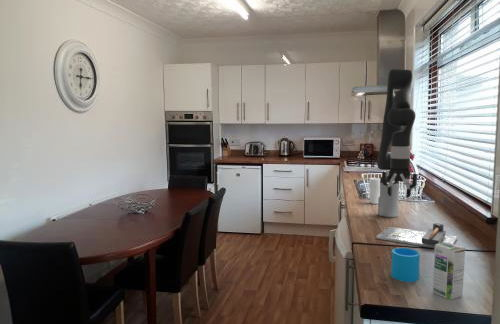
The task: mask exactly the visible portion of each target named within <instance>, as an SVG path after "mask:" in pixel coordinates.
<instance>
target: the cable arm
mask: <svg viewBox="0 0 500 324" xmlns="http://www.w3.org/2000/svg"><path fill="white" fill-rule="evenodd" d="M444 227H445V226H444V224H442V223H439V222H438V223H437V222H436V223H435V222H434V223H433V224H432V228H429V229H428V231H426V232H427V233H426V234H425V235H424V236H423V237H422V243H424V244H430V245H435V244H438V243H441V241H442V240H443V238H444V237H445V235H446V230H444Z"/></svg>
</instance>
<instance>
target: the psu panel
mask: <svg viewBox="0 0 500 324" xmlns="http://www.w3.org/2000/svg"><path fill="white" fill-rule="evenodd" d="M427 232H428V231H422V230H416V229H409V228H401V227H396V226H395V227H394V226H387V227H386V228H385V229H383V230H382V231H381V232H380V233H378V234H377V235H376V236H375V237H376V238H375V239H377V240H383V241H389V242H395V243H402V244H407V245H414V246H418V247H419V246H420V247H425V248H430V249H435V245H430V244H424V243H422V237H423V236H424V235H425V234H426V233H427ZM457 240H458V235H457V236H455V235H449V234H445V237H444V238H443V240H442V241H441V243H442V242H449V243H452V244H455V243H456V242H457Z"/></svg>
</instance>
